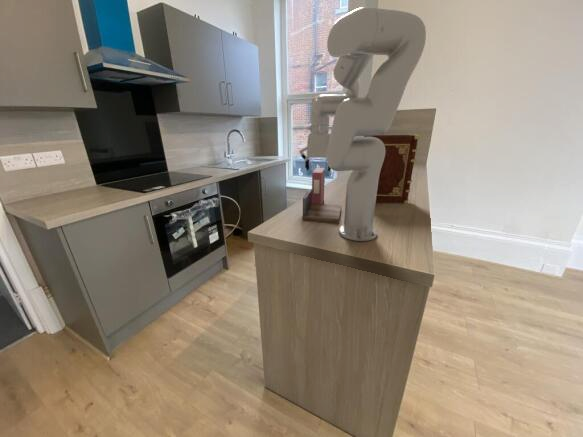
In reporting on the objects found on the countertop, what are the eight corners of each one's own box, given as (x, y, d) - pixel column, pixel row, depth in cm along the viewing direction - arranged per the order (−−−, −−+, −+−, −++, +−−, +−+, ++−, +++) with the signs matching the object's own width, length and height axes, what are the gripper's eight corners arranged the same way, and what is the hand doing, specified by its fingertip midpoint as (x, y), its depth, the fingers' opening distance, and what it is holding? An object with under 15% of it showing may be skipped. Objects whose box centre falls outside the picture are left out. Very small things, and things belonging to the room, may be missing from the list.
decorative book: (404, 198, 119) (415, 134, 108) (410, 203, 112) (422, 135, 101) (358, 198, 121) (363, 135, 110) (360, 203, 114) (367, 136, 103)
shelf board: (338, 223, 91) (338, 219, 91) (302, 221, 95) (302, 216, 94) (341, 209, 106) (341, 205, 105) (309, 207, 109) (309, 203, 108)
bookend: (305, 215, 94) (305, 198, 92) (302, 215, 95) (302, 198, 92) (311, 204, 107) (312, 189, 104) (309, 204, 107) (309, 189, 105)
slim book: (320, 208, 108) (321, 173, 102) (311, 208, 109) (312, 172, 103) (323, 200, 119) (325, 168, 113) (315, 200, 120) (316, 167, 114)
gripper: (297, 129, 100) (297, 171, 107) (340, 130, 96) (337, 172, 103) (301, 128, 107) (301, 167, 114) (341, 129, 103) (338, 169, 110)
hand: (318, 170), depth 108 cm, fingers open, 9 cm apart
